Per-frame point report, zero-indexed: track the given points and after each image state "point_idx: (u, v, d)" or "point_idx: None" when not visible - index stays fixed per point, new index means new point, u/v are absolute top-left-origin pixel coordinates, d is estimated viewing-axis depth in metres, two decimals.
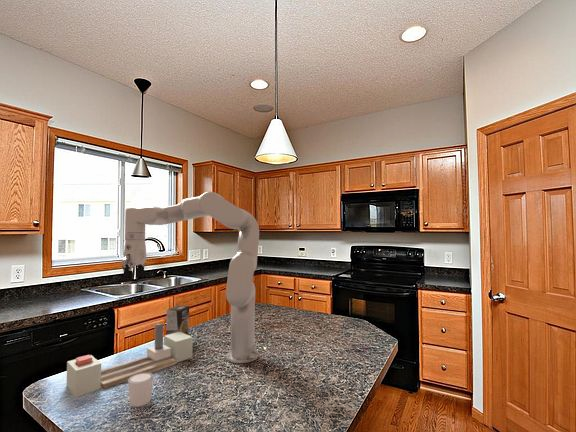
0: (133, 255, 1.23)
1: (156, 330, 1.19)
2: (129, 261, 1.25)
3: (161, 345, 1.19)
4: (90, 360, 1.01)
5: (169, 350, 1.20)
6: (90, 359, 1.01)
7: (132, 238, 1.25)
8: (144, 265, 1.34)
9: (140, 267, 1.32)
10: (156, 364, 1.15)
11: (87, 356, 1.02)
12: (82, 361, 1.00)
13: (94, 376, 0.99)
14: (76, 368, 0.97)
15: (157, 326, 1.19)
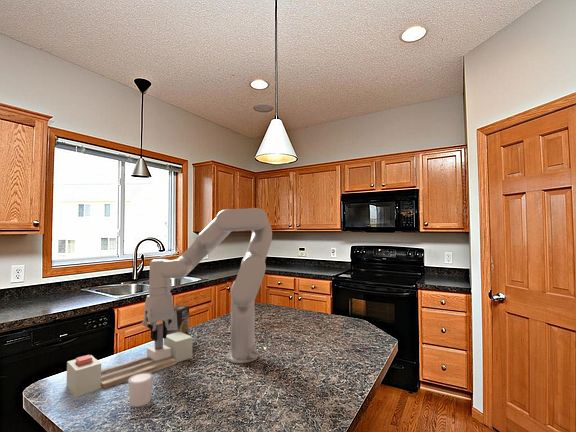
0: None
1: None
2: None
3: (161, 345, 1.19)
4: (90, 360, 1.01)
5: (169, 350, 1.20)
6: (90, 359, 1.01)
7: None
8: None
9: None
10: (156, 364, 1.15)
11: (87, 356, 1.02)
12: (82, 361, 1.00)
13: (94, 376, 0.99)
14: (76, 368, 0.97)
15: (157, 326, 1.19)
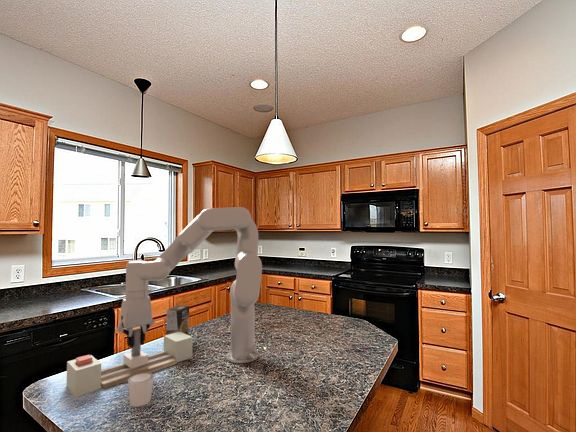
0: None
1: None
2: None
3: (138, 352, 1.13)
4: (90, 360, 1.01)
5: (147, 357, 1.13)
6: (90, 359, 1.01)
7: None
8: None
9: None
10: (156, 364, 1.15)
11: (87, 356, 1.02)
12: (82, 361, 1.00)
13: (94, 376, 0.99)
14: (76, 368, 0.97)
15: (134, 332, 1.13)
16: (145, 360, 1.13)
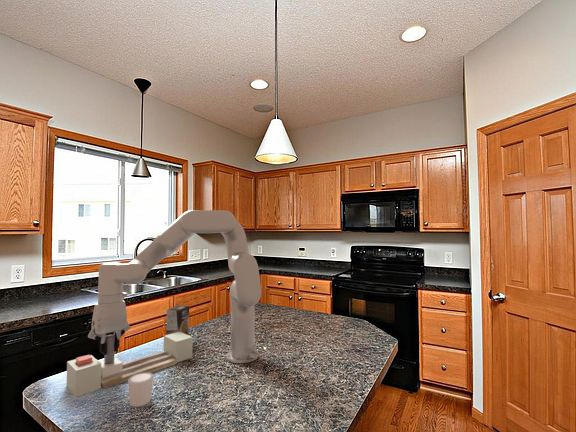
0: None
1: (106, 342, 1.06)
2: None
3: (112, 359, 1.06)
4: (90, 360, 1.01)
5: (121, 365, 1.07)
6: (90, 359, 1.01)
7: None
8: None
9: None
10: (156, 364, 1.15)
11: (87, 356, 1.02)
12: (82, 361, 1.00)
13: (94, 376, 0.99)
14: (76, 368, 0.97)
15: (107, 338, 1.06)
16: (119, 368, 1.06)
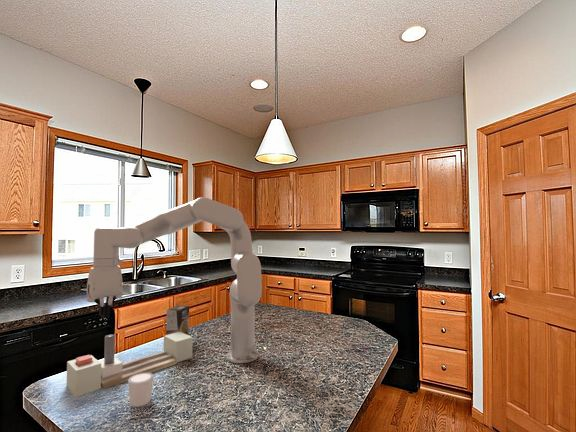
0: None
1: (106, 342, 1.06)
2: None
3: (112, 359, 1.06)
4: (90, 360, 1.01)
5: (121, 365, 1.07)
6: (90, 359, 1.01)
7: None
8: None
9: None
10: (156, 364, 1.15)
11: (87, 356, 1.02)
12: (82, 361, 1.00)
13: (94, 376, 0.99)
14: (76, 368, 0.97)
15: (107, 338, 1.06)
16: (119, 368, 1.06)
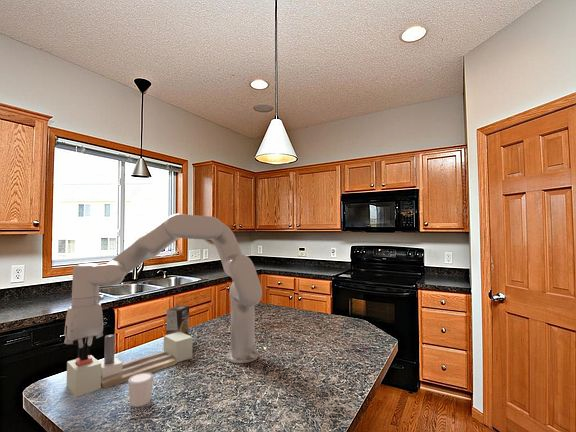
0: None
1: (106, 342, 1.06)
2: None
3: (112, 359, 1.06)
4: (90, 361, 1.01)
5: (121, 365, 1.07)
6: (90, 360, 1.01)
7: None
8: None
9: None
10: (156, 364, 1.15)
11: None
12: (82, 362, 1.00)
13: (94, 376, 0.99)
14: (76, 368, 0.97)
15: (107, 338, 1.06)
16: (119, 368, 1.06)
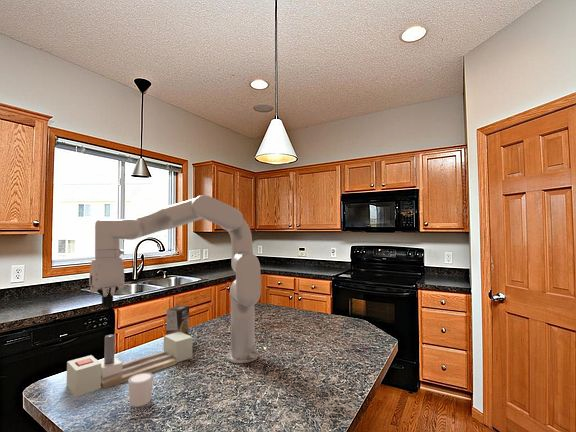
0: None
1: (106, 342, 1.06)
2: None
3: (112, 359, 1.06)
4: None
5: (121, 365, 1.07)
6: None
7: None
8: (101, 294, 1.08)
9: None
10: (156, 364, 1.15)
11: (87, 360, 1.02)
12: None
13: (94, 376, 0.99)
14: (76, 368, 0.97)
15: (107, 338, 1.06)
16: (119, 368, 1.06)
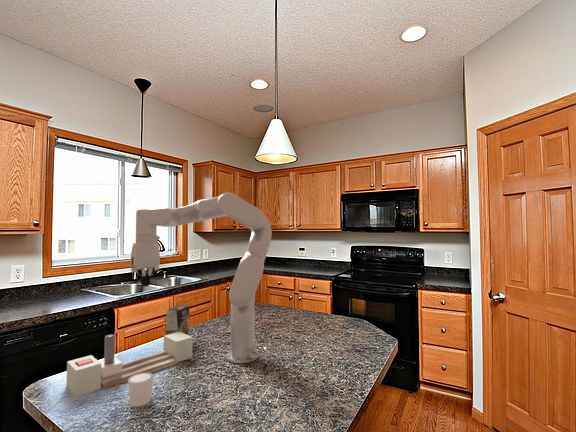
0: None
1: (106, 342, 1.06)
2: None
3: (112, 359, 1.06)
4: None
5: (121, 365, 1.07)
6: None
7: None
8: (140, 274, 1.23)
9: None
10: (156, 364, 1.15)
11: (87, 360, 1.02)
12: None
13: (94, 376, 0.99)
14: (76, 368, 0.97)
15: (107, 338, 1.06)
16: (119, 368, 1.06)
